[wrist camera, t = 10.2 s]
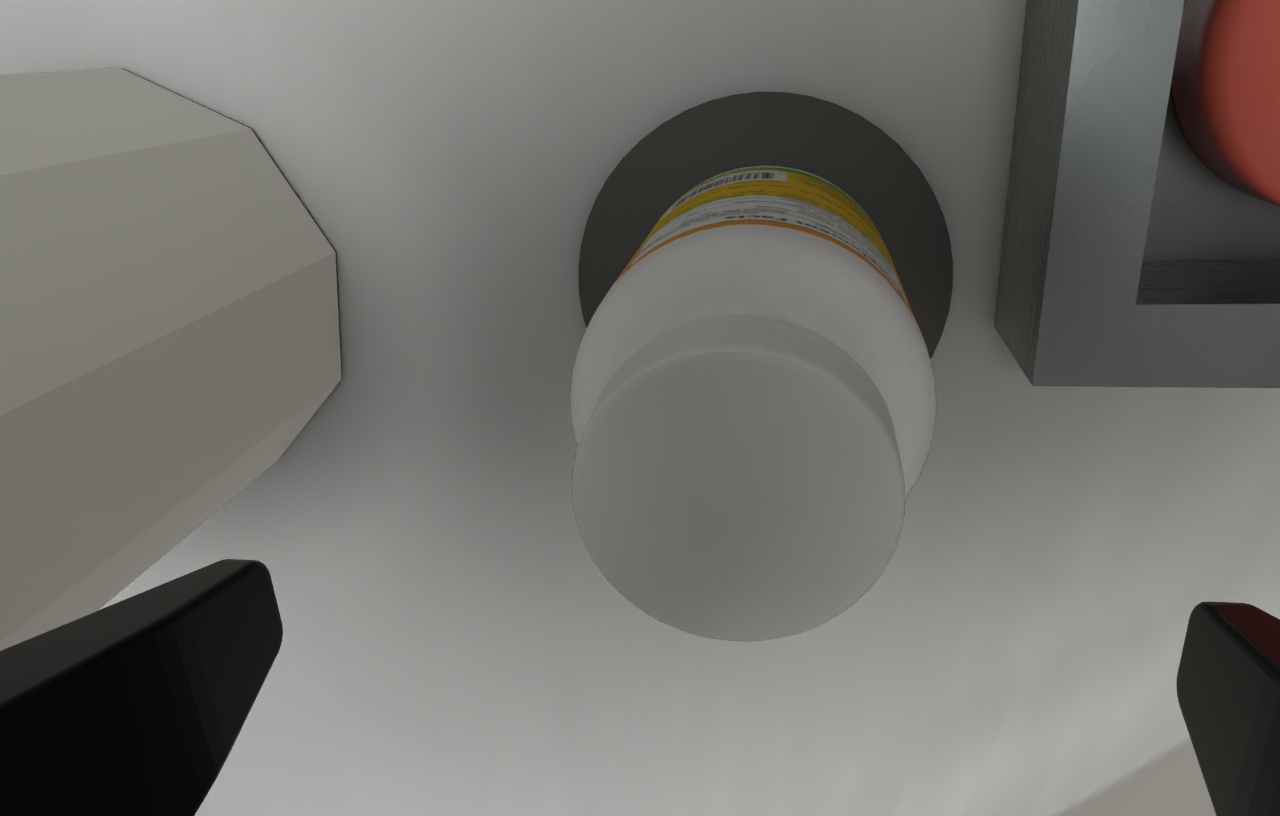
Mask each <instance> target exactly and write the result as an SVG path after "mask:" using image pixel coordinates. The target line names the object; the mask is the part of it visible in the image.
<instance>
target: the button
mask: <svg viewBox="0 0 1280 816" xmlns="http://www.w3.org/2000/svg"><path fill="white" fill-rule="evenodd" d="M1172 92H1173V97H1174V102H1175V108H1176V112H1177V115H1178V118H1179V121H1180V123H1181V126H1182V129H1183V131H1184V133H1185V135H1186V137H1187V139H1188V141H1189V142H1190V144H1191V146H1192V148H1193V149H1194V151H1195V152H1196V153H1197V154H1198V156H1199V157H1200V158H1201V160H1202V161H1203V162H1204V163H1205V164H1206V165H1207V166H1208V167H1209V168H1210V169H1211V170H1212V171H1213V172H1214V173H1215V174H1216V175H1217V176H1218V177H1220V178H1221V179H1223V180H1224V181H1226V182H1227V183H1229V184H1230V185H1232V186H1233V187H1235V188H1236V189H1238V190H1241V191H1243V192H1245V193H1247V194H1249V195H1251V196H1253V197H1256V198H1258V199H1261V200H1264V201H1266V202H1269V203H1272V204H1274V205H1277V206H1279V207H1280V0H1186V3H1185V6H1184V9H1183V13H1182V19H1181V25H1180V31H1179V37H1178V44H1177V50H1176V56H1175V62H1174V68H1173V75H1172Z"/></svg>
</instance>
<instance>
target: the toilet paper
mask: <svg viewBox="0 0 1280 816" xmlns="http://www.w3.org/2000/svg"><path fill="white" fill-rule="evenodd" d="M341 379H342V377H341V357H340V336H339V316H338V296H337V275H336V255H335V251H334V250H333V248H332V247H331V245H330V244H329V242H328V241H327V239H326V238H325V236H324V235H323V233H322V232H321V231H320V229H319V228H318V226H317V225H316V223H315V222H314V220H313V219H312V217H311V216H310V215H309V213H308V212H307V210H306V209H305V207H304V206H303V204H302V203H301V201H300V200H299V198H298V197H297V196H296V194H295V193H294V191H293V190H292V188H291V187H290V185H289V184H288V182H287V181H286V179H285V178H284V177H283V175H282V174H281V172H280V171H279V169H278V168H277V166H276V165H275V163H274V162H273V160H272V159H271V158H270V156H269V155H268V153H267V152H266V150H265V149H264V147H263V146H262V144H261V143H260V141H259V140H258V139H257V137H256V136H255V134H254V133H253V131H252V130H251V128H248V127H246V126H244V125H242V124H240V123H238V122H236V121H233V120H231V119H229V118H227V117H225V116H223V115H220V114H218V113H216V112H214V111H212V110H210V109H208V108H205V107H203V106H201V105H199V104H197V103H195V102H192V101H190V100H188V99H186V98H184V97H182V96H180V95H177V94H175V93H173V92H171V91H169V90H167V89H164V88H162V87H160V86H158V85H156V84H154V83H152V82H149V81H147V80H145V79H143V78H141V77H139V76H136V75H134V74H132V73H130V72H128V71H126V70H124V69H121V68H106V69H90V70H73V71H57V72H41V73H24V74H8V75H0V651H1V650H3V649H6V648H8V647H11V646H13V645H16V644H18V643H20V642H23V641H25V640H28V639H30V638H33V637H35V636H38V635H40V634H42V633H45V632H47V631H50V630H52V629H55V628H57V627H60V626H62V625H64V624H67V623H69V622H72V621H74V620H77V619H79V618H82V617H84V616H86V615H89V614H91V613H94V612H96V611H98V610H99V609H100V608H101V607H102V606H104V605H105V604H106V603H107V602H109V601H110V600H111V599H112V598H113V597H115V596H116V595H117V594H118V593H119V592H121V591H122V590H123V589H124V588H125V587H127V586H128V585H129V584H130V583H131V582H133V581H134V580H135V579H136V578H137V577H139V576H140V575H141V574H142V573H143V572H145V571H146V570H147V569H148V568H149V567H151V566H152V565H153V564H154V563H155V562H157V561H158V560H159V559H160V558H161V557H163V556H164V555H165V554H166V553H167V552H169V551H170V550H171V549H172V548H173V547H175V546H176V545H177V544H178V543H179V542H181V541H182V540H183V539H184V538H185V537H187V536H188V535H189V534H190V533H191V532H193V531H194V530H195V529H196V528H197V527H199V526H200V525H201V524H202V523H203V522H205V521H206V520H207V519H208V518H209V517H211V516H212V515H213V514H214V513H215V512H217V511H218V510H219V509H220V508H222V507H223V506H224V505H225V504H226V503H228V502H229V501H230V500H231V499H232V498H234V497H235V496H236V495H237V494H238V493H240V492H241V491H242V490H243V489H244V488H246V487H247V486H248V485H249V484H250V483H252V482H253V481H254V480H255V479H256V478H258V477H259V476H260V475H261V474H262V473H264V472H265V471H266V470H267V469H268V468H270V467H271V466H272V465H273V464H274V463H276V462H277V461H278V460H279V459H280V457H281V456H282V455H283V453H284V452H285V451H286V450H287V448H288V447H289V446H290V445H291V443H292V442H293V441H294V439H295V438H296V437H297V436H298V434H299V433H300V432H301V430H302V429H303V428H304V427H305V425H306V424H307V423H308V421H309V420H310V419H311V418H312V416H313V415H314V414H315V413H316V411H317V410H318V409H319V407H320V406H321V405H322V404H323V402H324V401H325V400H326V398H327V397H328V396H329V395H330V393H331V392H332V391H333V389H334V388H335V387H336V386H337V384H338V383H339V382H340V381H341Z"/></svg>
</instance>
